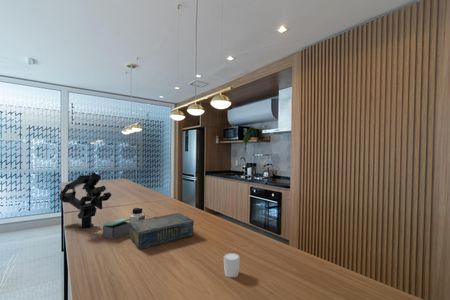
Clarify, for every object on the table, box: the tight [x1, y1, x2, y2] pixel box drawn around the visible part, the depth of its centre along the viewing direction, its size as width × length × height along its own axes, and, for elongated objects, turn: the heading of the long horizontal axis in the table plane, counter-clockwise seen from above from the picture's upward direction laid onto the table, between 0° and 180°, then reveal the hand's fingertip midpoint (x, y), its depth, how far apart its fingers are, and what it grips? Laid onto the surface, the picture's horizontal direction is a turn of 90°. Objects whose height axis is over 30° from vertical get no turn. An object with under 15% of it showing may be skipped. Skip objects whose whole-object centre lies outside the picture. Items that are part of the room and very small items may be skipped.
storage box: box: [102, 221, 130, 240], centre depth 131 cm, size 9×12×6 cm
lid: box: [102, 217, 130, 227], centre depth 131 cm, size 9×12×1 cm
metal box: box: [128, 212, 195, 250], centre depth 128 cm, size 21×32×10 cm, turn 127°
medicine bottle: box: [129, 207, 146, 222], centre depth 147 cm, size 7×7×12 cm
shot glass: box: [223, 252, 241, 278], centre depth 89 cm, size 7×7×7 cm
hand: (101, 208), depth 138 cm, fingers closed
